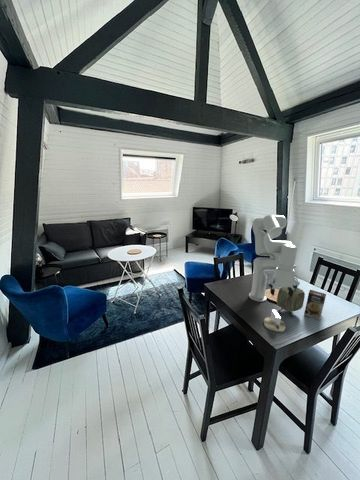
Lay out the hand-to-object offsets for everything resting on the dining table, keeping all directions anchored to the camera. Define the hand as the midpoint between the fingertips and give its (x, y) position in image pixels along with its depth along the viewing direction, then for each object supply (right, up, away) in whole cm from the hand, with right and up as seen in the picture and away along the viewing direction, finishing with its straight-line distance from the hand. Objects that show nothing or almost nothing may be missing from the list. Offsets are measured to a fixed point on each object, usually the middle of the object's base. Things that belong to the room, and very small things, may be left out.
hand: (281, 295), depth 117 cm
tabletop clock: (+15, -18, +21) cm, 31 cm away
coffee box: (+30, -18, +19) cm, 40 cm away
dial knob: (0, -19, +7) cm, 20 cm away
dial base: (0, -20, +8) cm, 22 cm away
